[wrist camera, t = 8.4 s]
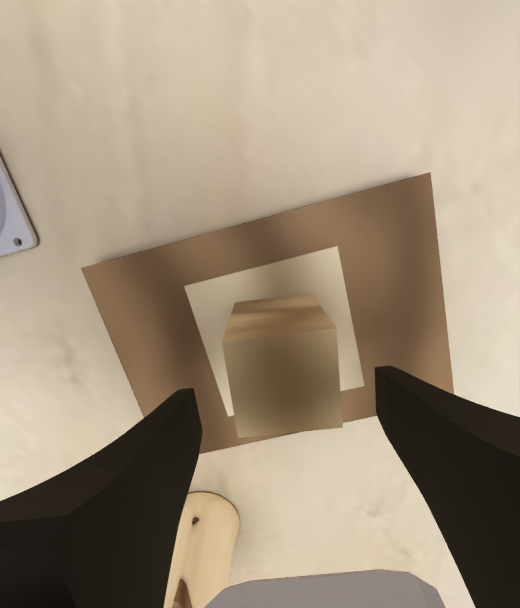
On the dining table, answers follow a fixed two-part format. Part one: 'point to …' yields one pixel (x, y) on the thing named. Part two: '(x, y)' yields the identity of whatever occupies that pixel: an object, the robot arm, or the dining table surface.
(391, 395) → the robot arm
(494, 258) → the dining table surface
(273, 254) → the walnut board
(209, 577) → the beer glass
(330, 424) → the maple block
